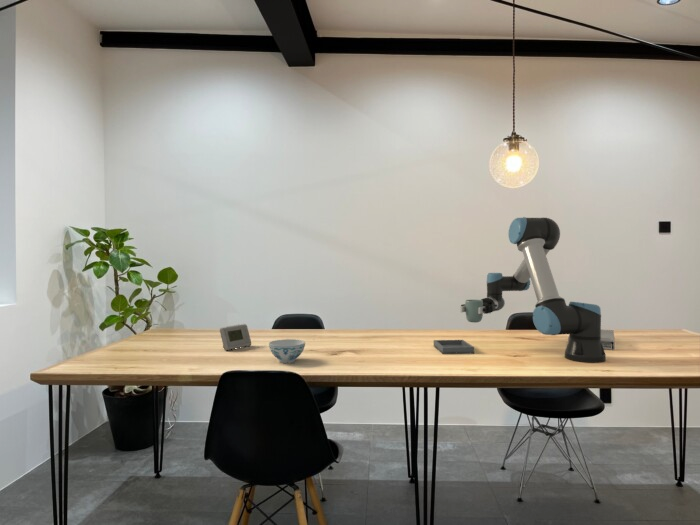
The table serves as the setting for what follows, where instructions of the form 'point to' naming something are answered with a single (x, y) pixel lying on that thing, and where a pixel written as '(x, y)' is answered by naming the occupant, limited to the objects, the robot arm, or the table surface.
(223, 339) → the digital clock
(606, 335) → the power supply unit
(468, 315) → the cup
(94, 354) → the table surface
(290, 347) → the chinaware
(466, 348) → the tray
